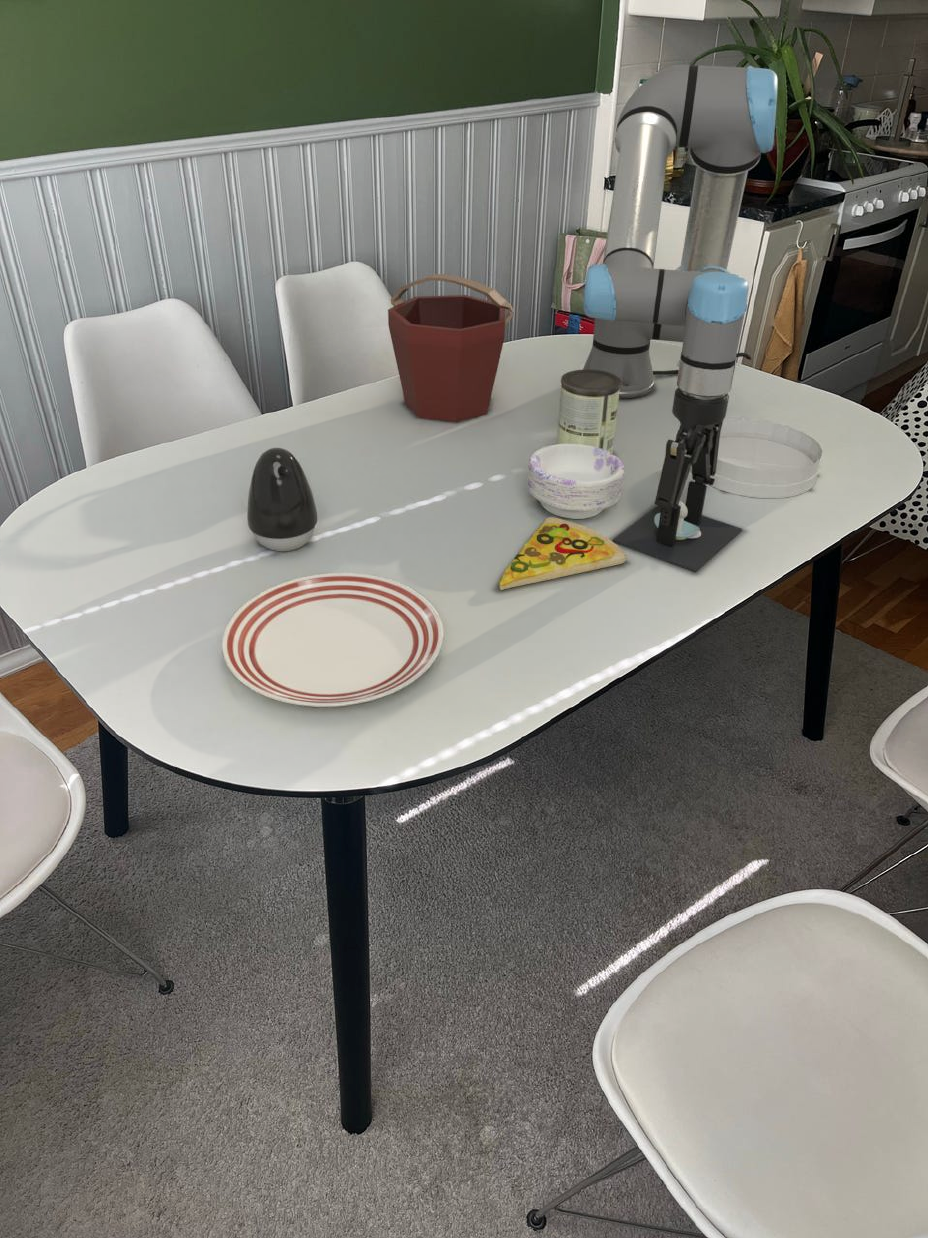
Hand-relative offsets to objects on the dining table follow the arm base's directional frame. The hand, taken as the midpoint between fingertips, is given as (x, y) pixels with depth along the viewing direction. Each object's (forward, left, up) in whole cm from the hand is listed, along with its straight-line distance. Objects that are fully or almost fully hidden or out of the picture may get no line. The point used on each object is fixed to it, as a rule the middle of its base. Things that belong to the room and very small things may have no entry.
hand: (678, 531), depth 146 cm
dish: (-30, -1, -1) cm, 30 cm away
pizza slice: (+20, -11, -1) cm, 23 cm away
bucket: (-18, -60, -1) cm, 63 cm away
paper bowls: (+2, -18, -1) cm, 18 cm away
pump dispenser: (+40, -45, -1) cm, 60 cm away
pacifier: (0, 0, -1) cm, 1 cm away
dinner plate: (+55, -20, -1) cm, 59 cm away
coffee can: (-16, -27, -1) cm, 31 cm away
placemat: (0, 0, -1) cm, 1 cm away
